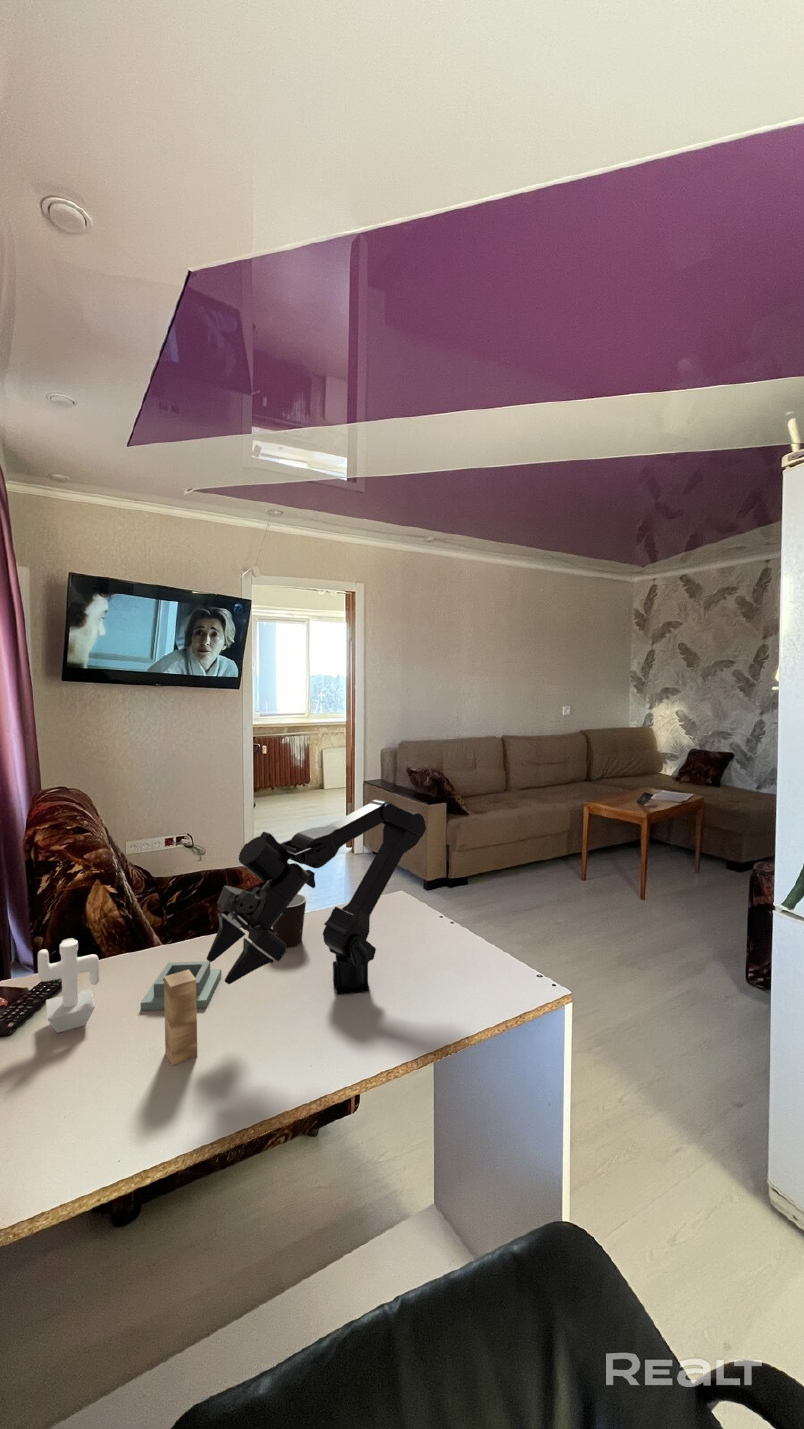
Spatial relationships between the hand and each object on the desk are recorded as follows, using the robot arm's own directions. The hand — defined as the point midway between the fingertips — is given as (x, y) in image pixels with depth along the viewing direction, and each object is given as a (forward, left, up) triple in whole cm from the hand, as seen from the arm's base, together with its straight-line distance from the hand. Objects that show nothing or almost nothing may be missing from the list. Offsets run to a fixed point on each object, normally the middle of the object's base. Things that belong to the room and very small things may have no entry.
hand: (217, 971), depth 97 cm
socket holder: (+9, -17, -12) cm, 23 cm away
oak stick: (+6, +3, -12) cm, 14 cm away
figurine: (+27, -10, -12) cm, 31 cm away
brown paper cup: (-12, -37, -12) cm, 41 cm away
